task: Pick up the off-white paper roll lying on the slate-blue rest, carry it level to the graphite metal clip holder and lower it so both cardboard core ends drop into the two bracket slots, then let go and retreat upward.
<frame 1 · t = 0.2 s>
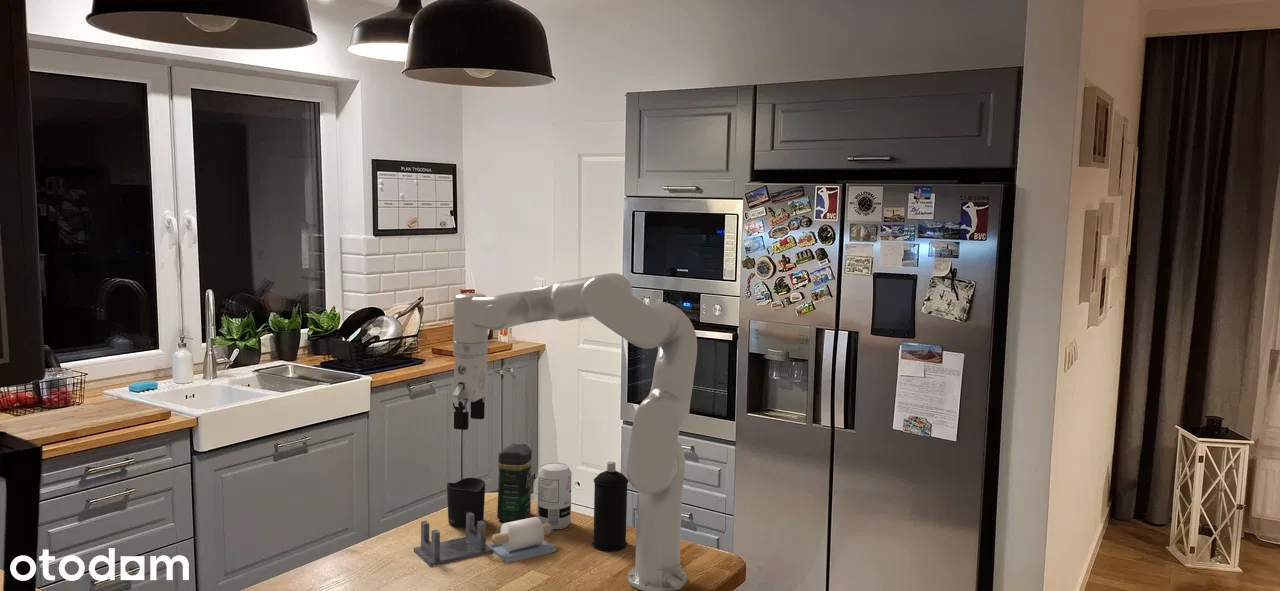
hand: (469, 423, 194), 30 cm above the countertop, tool pointing down, fingers open, 9 cm apart
pen holder: (465, 522, 216), on the countertop
rest: (522, 549, 200), on the countertop
supplement can: (554, 525, 216), on the countertop
paper roll: (522, 533, 199), point 4 cm above the countertop, touching rest
aerosol can: (609, 545, 204), on the countertop
coffee jar: (514, 517, 221), on the countertop
holder: (453, 551, 197), on the countertop
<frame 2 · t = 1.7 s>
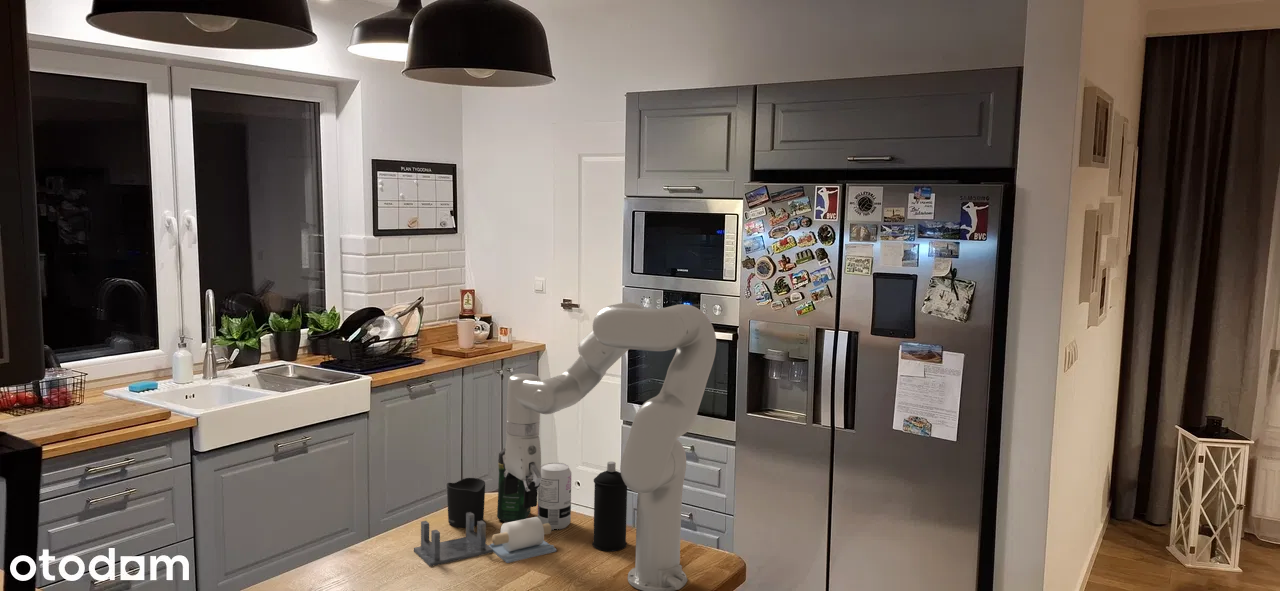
hand: (520, 500, 199), 12 cm above the countertop, tool pointing down, fingers open, 9 cm apart
nothing on the countertop moved.
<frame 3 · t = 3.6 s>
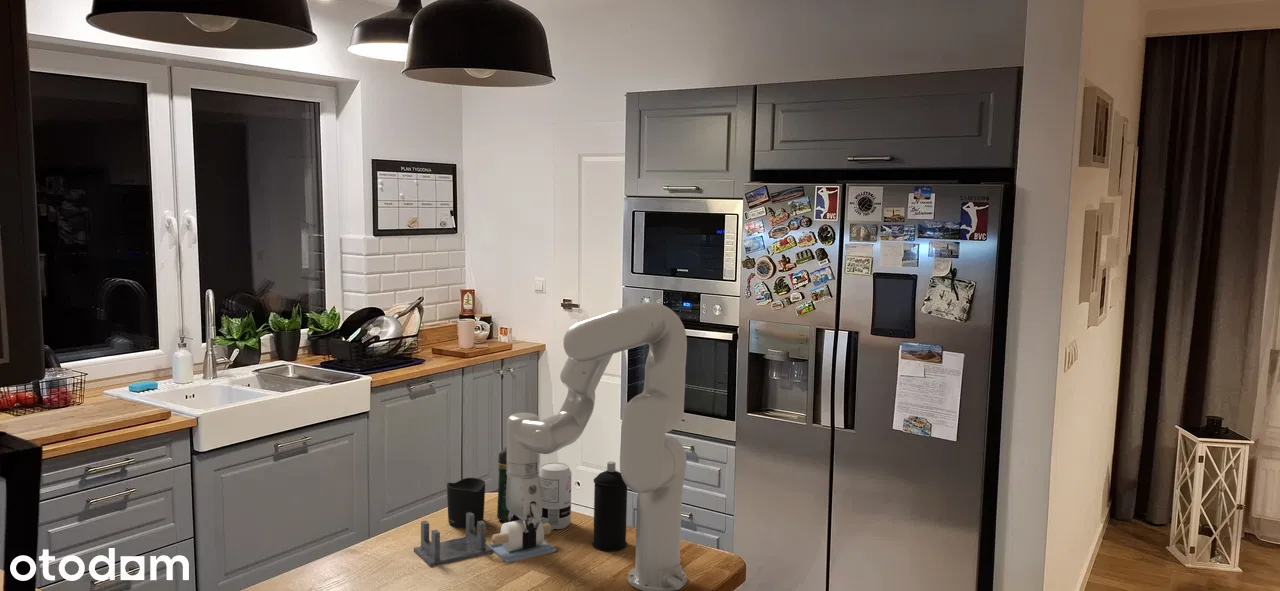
hand: (522, 541, 200), 2 cm above the countertop, tool pointing down, fingers closed on paper roll, 6 cm apart
paper roll: (522, 533, 199), point 4 cm above the countertop, touching gripper, rest
everything else where it was.
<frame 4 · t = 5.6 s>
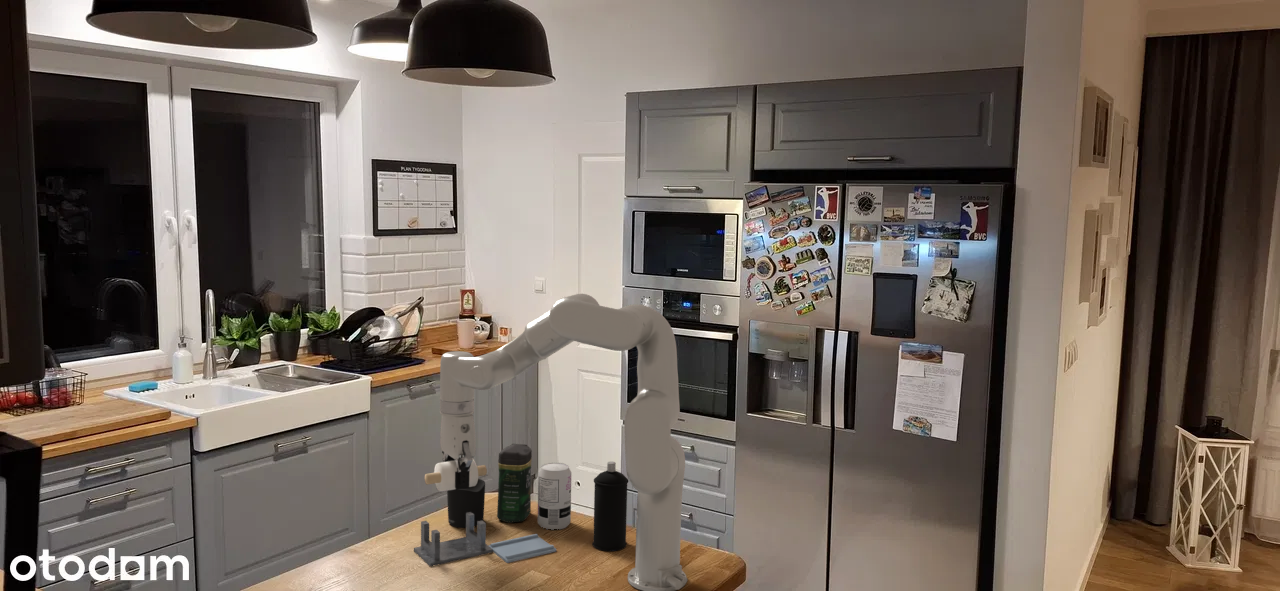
hand: (455, 483, 196), 16 cm above the countertop, tool pointing down, fingers closed on paper roll, 6 cm apart
paper roll: (456, 474, 196), point 18 cm above the countertop, touching gripper
everything else where it was.
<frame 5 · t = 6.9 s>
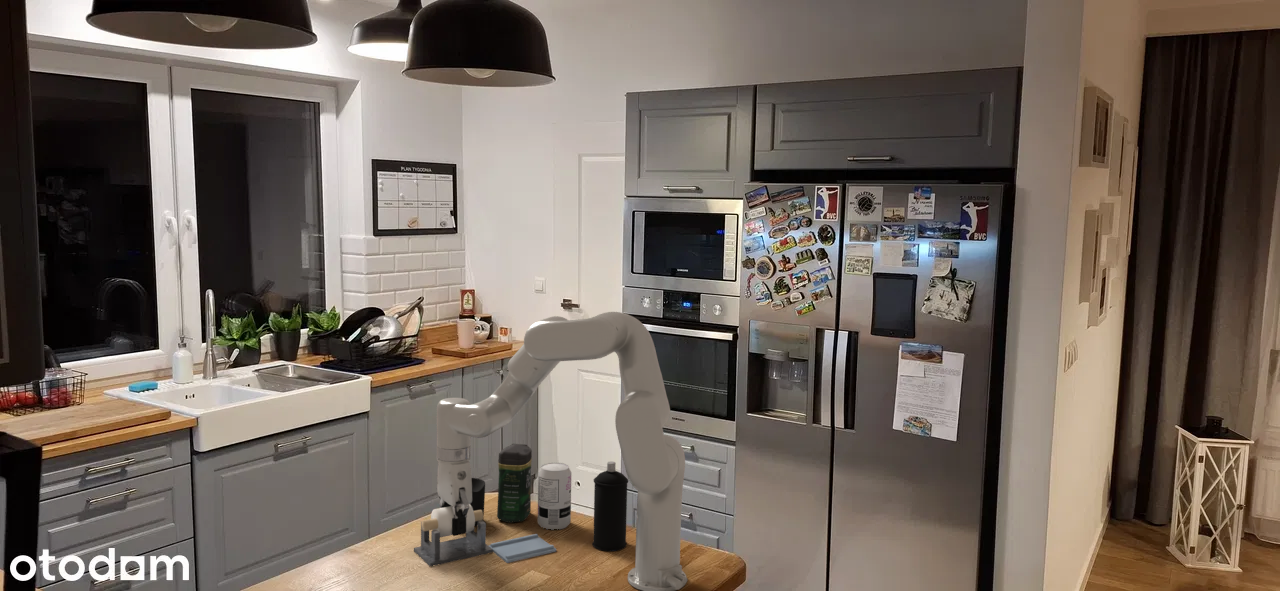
hand: (452, 528, 197), 6 cm above the countertop, tool pointing down, fingers closed on paper roll, 6 cm apart
paper roll: (452, 520, 197), point 7 cm above the countertop, touching gripper
everything else where it was.
when the fingers open (3 cm above the countertop, at t = 7.8 s): paper roll stays where it is, resting on holder.
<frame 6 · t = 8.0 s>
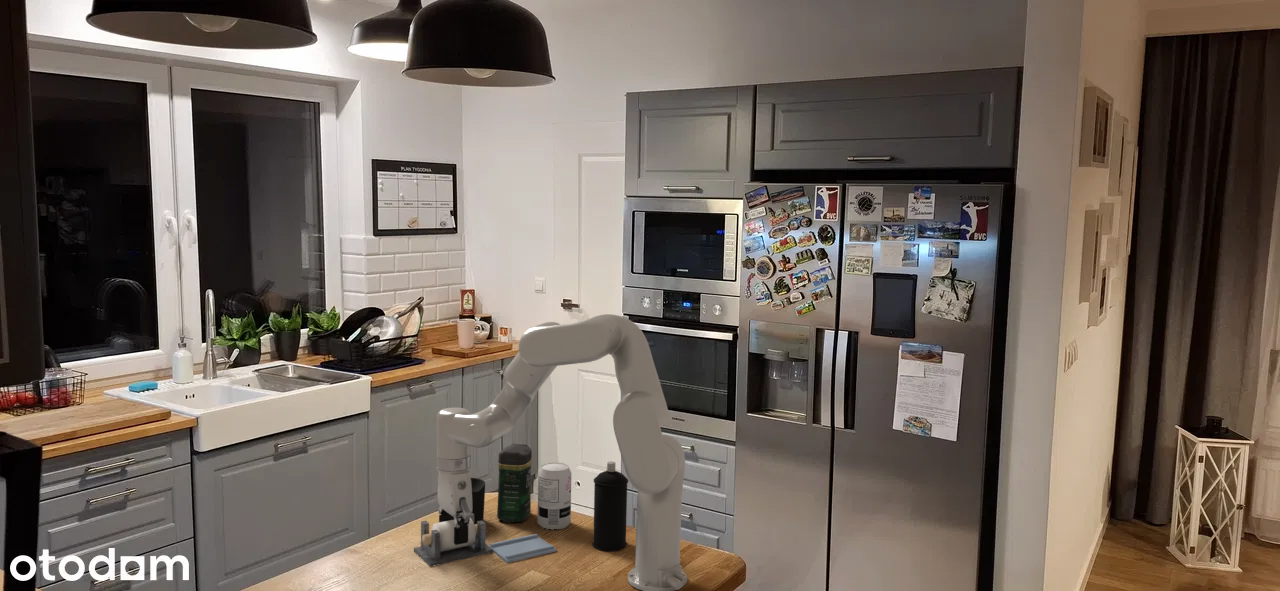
hand: (453, 536, 197), 4 cm above the countertop, tool pointing down, fingers open, 8 cm apart
paper roll: (453, 534, 197), point 4 cm above the countertop, touching holder
everything else where it was.
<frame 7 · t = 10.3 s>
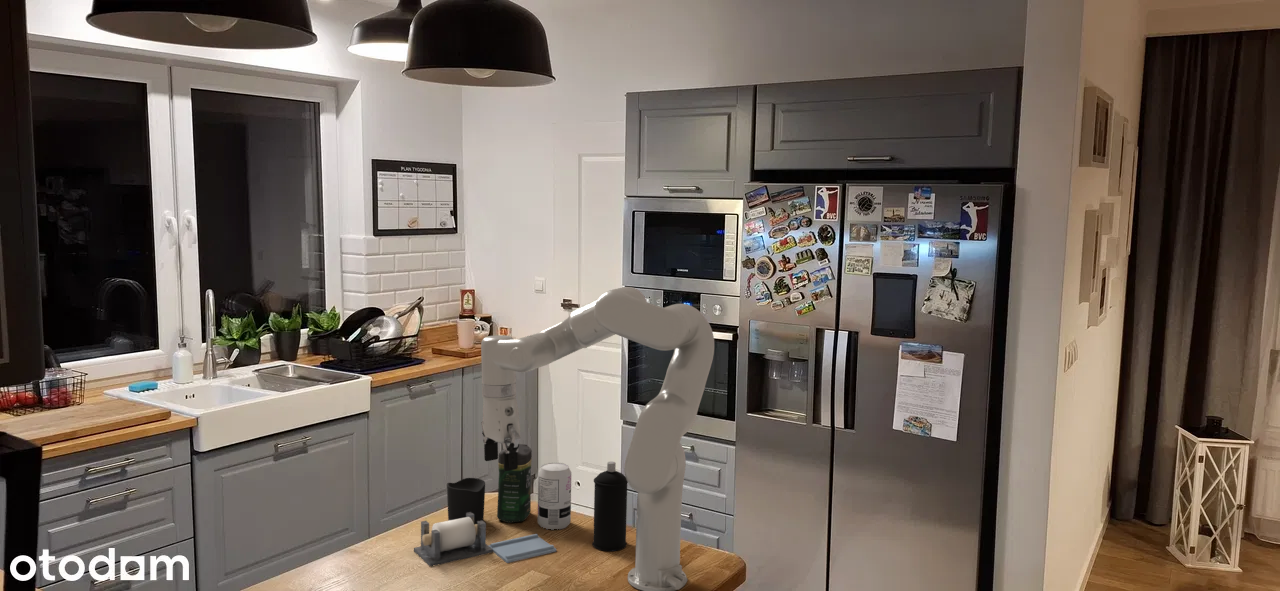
hand: (500, 464, 195), 21 cm above the countertop, tool pointing down, fingers open, 9 cm apart
nothing on the countertop moved.
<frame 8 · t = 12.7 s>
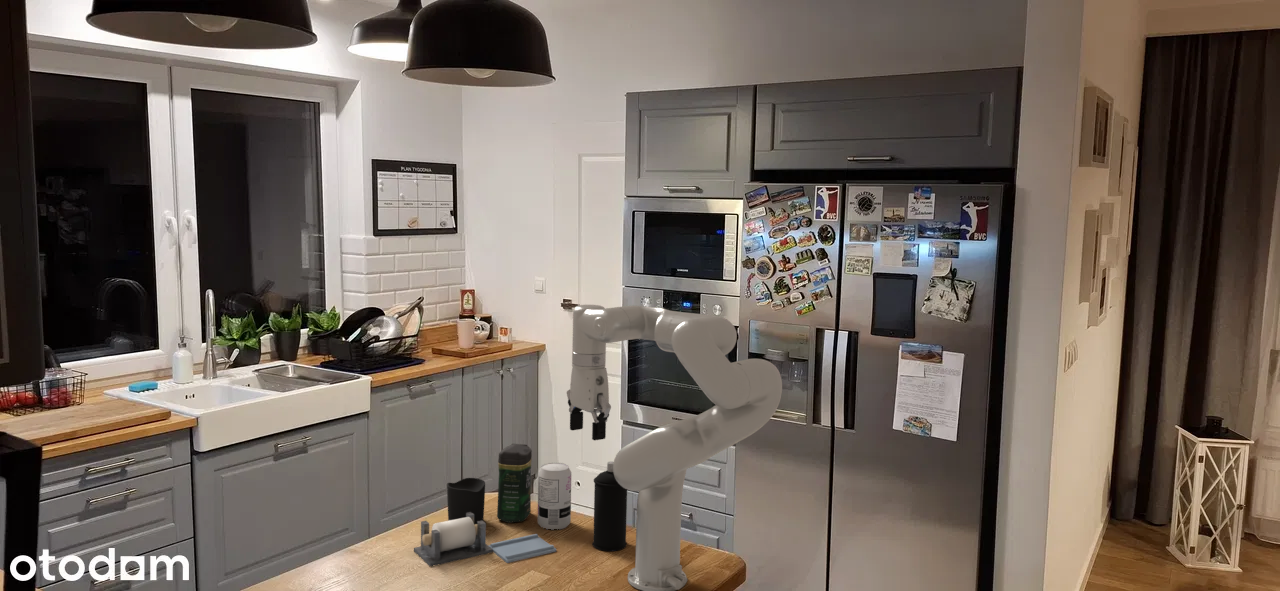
hand: (587, 434, 195), 28 cm above the countertop, tool pointing down, fingers open, 9 cm apart
nothing on the countertop moved.
at the end: paper roll 0.1 cm off-centre on the holder, point 4.2 cm above the holder's base; paper roll touching holder; the gripper is holding nothing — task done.
